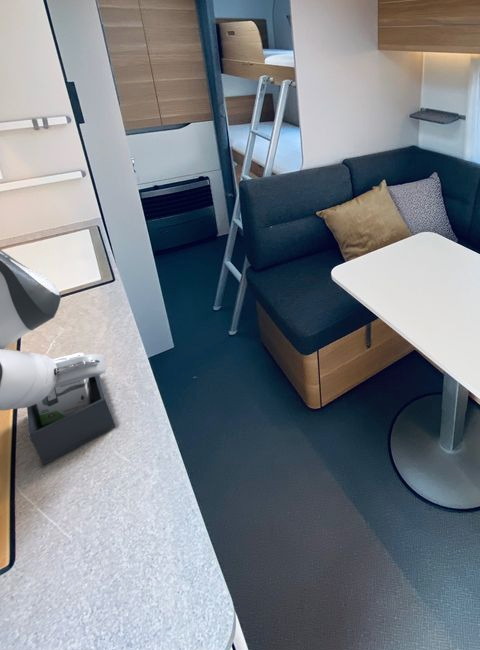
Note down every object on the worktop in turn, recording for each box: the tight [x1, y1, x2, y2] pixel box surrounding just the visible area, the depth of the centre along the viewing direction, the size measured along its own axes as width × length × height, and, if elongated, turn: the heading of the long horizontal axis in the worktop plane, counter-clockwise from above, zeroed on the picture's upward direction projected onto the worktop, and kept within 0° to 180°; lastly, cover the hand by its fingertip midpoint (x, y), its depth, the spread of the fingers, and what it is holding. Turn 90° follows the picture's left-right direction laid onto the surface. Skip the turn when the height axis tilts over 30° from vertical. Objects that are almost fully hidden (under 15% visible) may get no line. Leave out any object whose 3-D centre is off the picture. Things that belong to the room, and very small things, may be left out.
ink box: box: [37, 352, 92, 425], centre depth 86 cm, size 9×5×12 cm, turn 119°
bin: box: [26, 375, 116, 465], centre depth 86 cm, size 16×12×8 cm
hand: (56, 380), depth 83 cm, fingers closed on ink box, 8 cm apart
